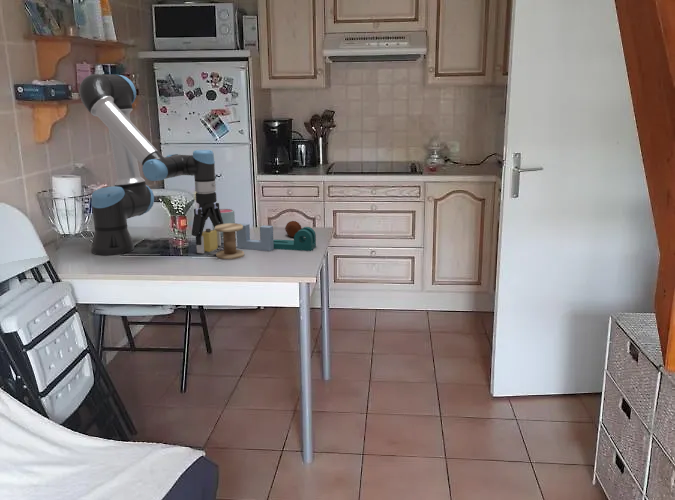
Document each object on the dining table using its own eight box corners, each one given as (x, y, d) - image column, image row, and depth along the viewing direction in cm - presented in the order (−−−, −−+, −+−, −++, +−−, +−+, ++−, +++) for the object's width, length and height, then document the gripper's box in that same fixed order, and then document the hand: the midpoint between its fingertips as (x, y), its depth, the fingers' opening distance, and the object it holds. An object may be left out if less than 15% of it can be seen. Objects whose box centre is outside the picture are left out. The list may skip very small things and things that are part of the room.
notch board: (237, 248, 240) (236, 225, 238) (241, 246, 243) (240, 223, 241) (270, 251, 235) (269, 227, 233) (273, 249, 238) (273, 226, 236)
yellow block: (200, 251, 237) (199, 230, 234) (208, 247, 241) (207, 227, 239) (209, 251, 235) (208, 231, 233) (217, 248, 240) (216, 228, 238)
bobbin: (211, 257, 227) (209, 228, 224) (225, 251, 236) (223, 222, 233) (235, 260, 223) (234, 230, 221) (249, 253, 233) (247, 224, 230)
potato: (283, 238, 255) (282, 222, 253) (287, 233, 264) (286, 218, 262) (300, 238, 254) (299, 223, 253) (303, 233, 263) (303, 218, 262)
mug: (215, 231, 267) (214, 208, 265) (237, 231, 267) (236, 208, 264) (208, 239, 254) (206, 215, 252) (230, 239, 254) (229, 215, 251)
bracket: (315, 247, 242) (315, 227, 240) (311, 251, 235) (310, 231, 233) (271, 244, 246) (270, 225, 244) (265, 249, 239) (265, 228, 237)
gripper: (196, 197, 221) (200, 257, 226) (230, 187, 242) (233, 242, 248) (178, 196, 223) (183, 255, 229) (213, 186, 245) (217, 241, 250)
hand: (209, 249), depth 238 cm, fingers open, 11 cm apart
